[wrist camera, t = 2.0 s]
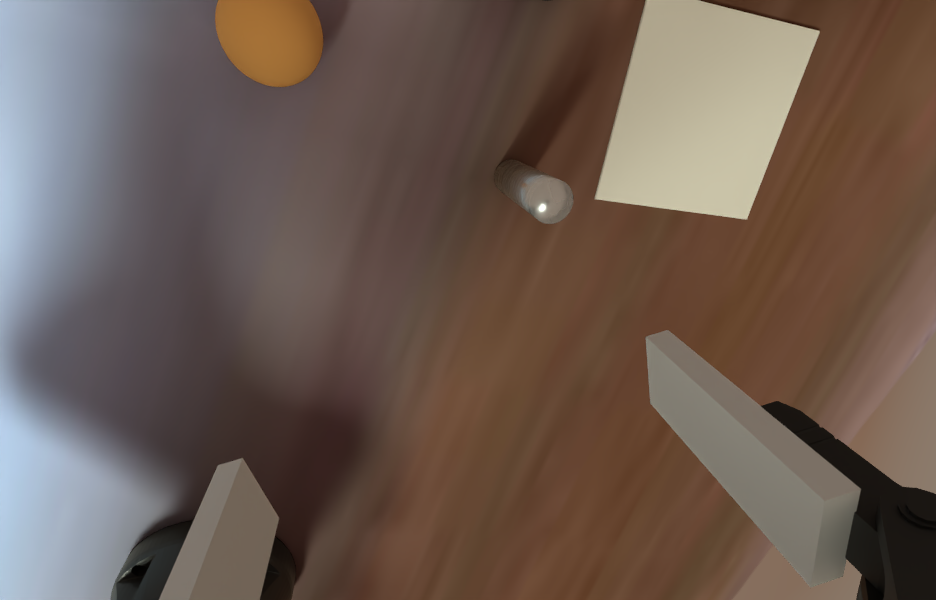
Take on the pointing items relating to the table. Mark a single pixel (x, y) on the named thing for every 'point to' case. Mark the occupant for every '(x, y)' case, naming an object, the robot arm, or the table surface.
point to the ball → (270, 38)
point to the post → (534, 191)
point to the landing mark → (702, 107)
